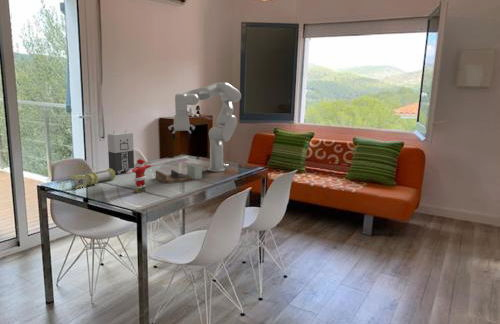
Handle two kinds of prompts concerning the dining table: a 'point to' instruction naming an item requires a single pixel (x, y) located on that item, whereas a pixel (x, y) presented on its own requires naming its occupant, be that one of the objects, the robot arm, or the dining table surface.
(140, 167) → the santa figurine
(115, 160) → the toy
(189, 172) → the pale green block
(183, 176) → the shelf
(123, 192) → the dining table surface
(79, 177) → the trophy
